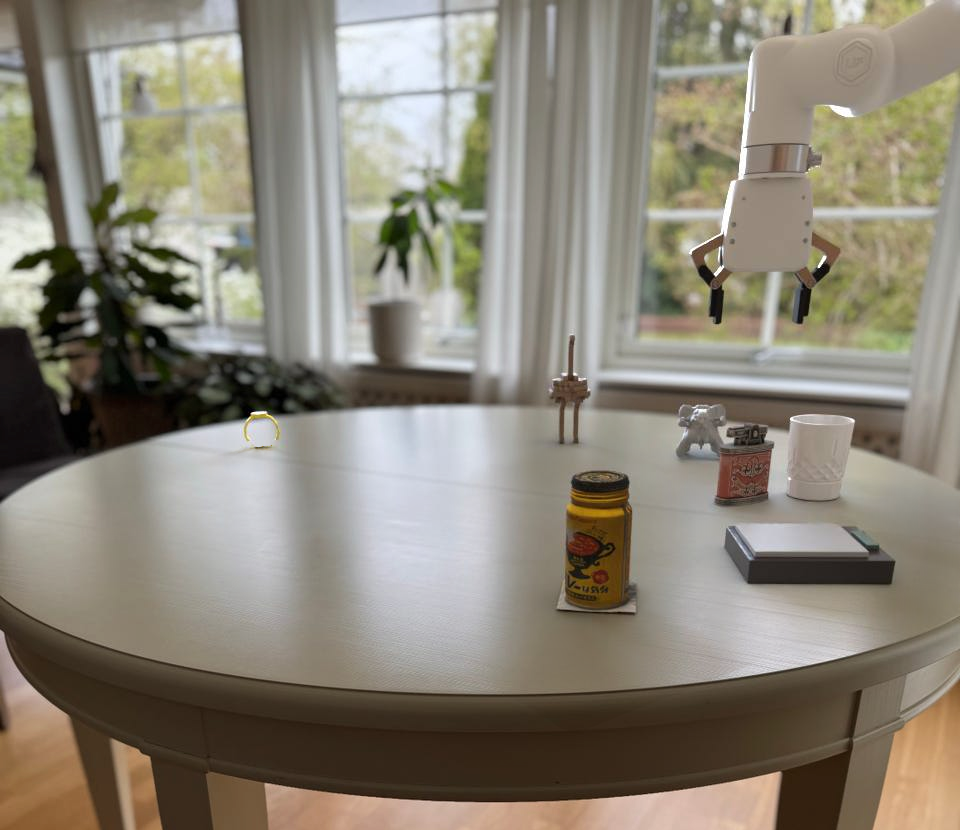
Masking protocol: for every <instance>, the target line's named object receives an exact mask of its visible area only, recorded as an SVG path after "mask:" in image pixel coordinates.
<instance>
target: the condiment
mask: <svg viewBox="0 0 960 830" xmlns="http://www.w3.org/2000/svg"><path fill="white" fill-rule="evenodd" d="M570 484H571V487H570V488H571V489H570V493H569V496H570V499H571V500H570V502H569V503H568V504H567V506H566V513H565V544H564V545H565V548H564V552H565V556H564V557H565V560H564V561H565V562H564V567H565V569H564V578H563V581H562V583H561V584H562V586H561V589H560V593H559V597H558V602H557V604H556V605H557V606H556V610H567V611H568V610H569V611H578V612H594V613H595V612H598V613H618V612H621V613H637V592H638V591H637V590H638V589H637V588H638V580H637V579H635V580H632V579H631V580H630V571H631V570H630V569H631V568H630V567H631V547H632V531H633V530H632V527H633V508H632V506H631V505H632V504H630V502H629V499H630V491H629V489H630V478H629V476H628V475H627V474H626V473H623V472H619V471H615V470H586V471H581V472H578V473H577V472H576V473H575V474H574V475H572V477H571V481H570Z"/></svg>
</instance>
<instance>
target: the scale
mask: <svg viewBox="0 0 960 830" xmlns="http://www.w3.org/2000/svg"><path fill="white" fill-rule="evenodd" d="M724 538H725V539H724V548H725V550H726V551H727V553H728V555H729V556H730V558H731V559H732V561H733V563H734V564H735V566H736V568H737V569H738V571H739V572H740V573H741V575H742V577H743V579H744V580H745V582H746V583H747V584H843V585H846V584H850V585H851V584H854V585H855V584H857V585H858V584H859V585H860V584H861V585H863V584H864V585H865V584H866V585H870V584H873V585H887V584H888V585H891V584H892V583H893V578H894V573H895V567H896V560H895V559H894V558H893V557H892V556H891V555H890V554H888V553H887V552H886V551H885V550H883V549H882V548H881V547H880V544H879V543H877V541H876V540H874V539H873V538H872V537H871V536H870V535H869V534H868V533H866V532H865V531H864V530H861V529H859V528H858V527H857V525H856V526H855V525H840V524H839V523H831V522H830V523H828V522H827V523H826V522H825V523H819V522H818V523H817V522H815V523H814V522H813V523H812V522H811V523H808V522H807V523H806V522H805V523H803V522H802V523H801V522H799V523H798V522H797V523H794V522H792V523H788V522H787V523H779V522H778V523H769V522H768V523H767V522H765V523H764V522H763V523H759V522H757V523H755V522H754V523H752V522H751V523H748V522H745V523H743V522H741V523H740V522H738V523H734V525H727V526H726V527H725V537H724Z"/></svg>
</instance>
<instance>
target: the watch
mask: <svg viewBox="0 0 960 830" xmlns="http://www.w3.org/2000/svg"><path fill="white" fill-rule="evenodd" d="M262 418H266V419H269V420H270V421H272V423H273V424H274V425H275V429H276V436H275V438H274V440H278V441H279V439H280V432H281V431H280V428H279V423H278V421H277V420H276V419H275V418H274V417H273V416H272V415H270V414H268V412H267V411H254V412H251V413H250V416H249V417H248V418H247V419H246V421H245V423H244V426H243V433H244V434H243V435H244V438H245V440H246V441H247V442H248V441H250V440H251V439H250V437H249V436H248V432H247V428H248V425H249V423H250V422H251V421H252V420H253V419H262Z"/></svg>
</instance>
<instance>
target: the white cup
mask: <svg viewBox="0 0 960 830" xmlns="http://www.w3.org/2000/svg"><path fill="white" fill-rule="evenodd" d="M855 424H856V420H855V419H854V418H851V417H849V416H848V417H847V416H843V415H834V414H821V413H820V414H819V413H818V414H816V413H815V414H799V415H793V416H792V417H790V420H789V432H788V433H789V435H788V447H787V463H786V464H787V465H786V472H787V476H786V487H785V493H786V494H787V495H788V496H789V497H791V498H794V499H798V500H803V501H804V500H805V501H813V502H814V501H817V502H818V501H819V502H822V501H823V502H824V501H831V500H836V499H838V498H839V496H840V495H841V489H842V484H843V478H844V476H845V474H846V473H845V472H846V468H847V463H848V459H849V454H850V449H851V444H852V439H853V433H854V428H855Z"/></svg>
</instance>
